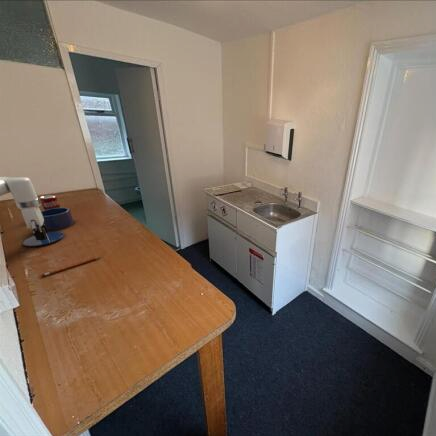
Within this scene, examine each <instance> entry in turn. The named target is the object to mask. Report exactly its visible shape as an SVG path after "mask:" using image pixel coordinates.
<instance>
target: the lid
mask: <svg viewBox="0 0 436 436" xmlns="http://www.w3.org/2000/svg"><path fill="white" fill-rule="evenodd" d="M37 229H39V228H37ZM41 229H42V231H43V232H44V235H45V237H46V239H43V240H36V238H35V235H33V236H31V237H28V238H27V239H25V240H24V241H23V242H22V244H23V246H25V247H30V248H31V247H33V248H34V247H40V246H45V245H46V246H47V245H49V244H53V243H55V242H57V241H60V240H61V239H63V238H64V236H65V234H64V233H63V232H61V231H48V232H47V233H46V231H45V229H44V228H43V227H41Z"/></svg>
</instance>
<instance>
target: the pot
mask: <svg viewBox="0 0 436 436" xmlns="http://www.w3.org/2000/svg"><path fill="white" fill-rule="evenodd" d="M40 211H41V213H42V215H43V218H44V224H45V226H46V228H47V231H48V232H52V231H58V230H62V229H66V228H69V227H71V226H72V225H74V223H75V221H74V218H73V215H72V212H71V209H70V208H68V207H60V208H52V209H47V210H44V209H43V210H40Z"/></svg>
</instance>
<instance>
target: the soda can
mask: <svg viewBox="0 0 436 436" xmlns="http://www.w3.org/2000/svg"><path fill="white" fill-rule="evenodd" d="M39 201H40V204H41V206H42V208H43V211H44V210H47V209H52V208H61V206H60V205H61V204H60V202H59V200H58V197H57V196H56V195H53V194H49V195H43V196H40V197H39Z"/></svg>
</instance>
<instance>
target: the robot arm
mask: <svg viewBox="0 0 436 436" xmlns="http://www.w3.org/2000/svg"><path fill="white" fill-rule="evenodd" d="M10 193H11V196H12V198H13V201H14V202H15V204H16V207H17V209H18V210H20V211H21V215H22V218H23V220H24V223H25V225H26V228H27V229H31V230H32V233H33V236H35V238H36V240H43V239H46V237H45V235H44V232H43V231H42V229H41V227H43V228H44V229H45V231H46V233H49V231H47V228H46V226H45V224H44V218H43V215H42V213H41V211H42V210H41V209H40V206H42V203H41V201H40V198H39V197H38V195H37V192H36V190H35V187H34V184H33V182H32V180H31V179H30V178H29V177H26V176H19V177H18V176H17V177H11V176H0V197H1V196H3V195H7V194H10ZM37 228H39V229H37Z"/></svg>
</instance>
